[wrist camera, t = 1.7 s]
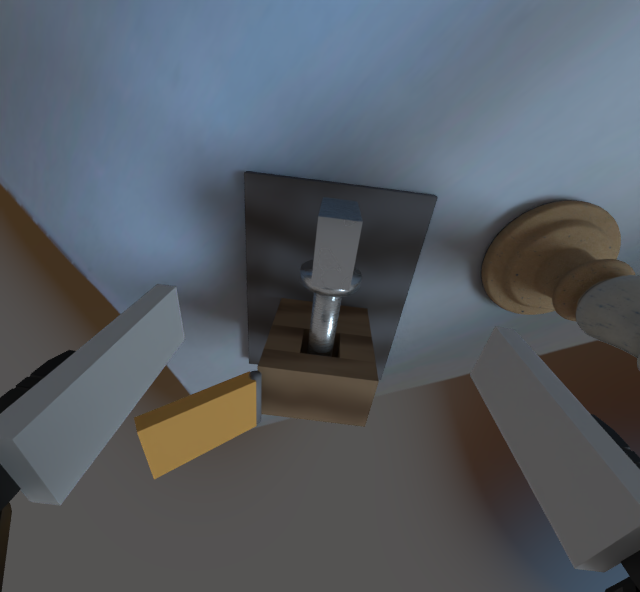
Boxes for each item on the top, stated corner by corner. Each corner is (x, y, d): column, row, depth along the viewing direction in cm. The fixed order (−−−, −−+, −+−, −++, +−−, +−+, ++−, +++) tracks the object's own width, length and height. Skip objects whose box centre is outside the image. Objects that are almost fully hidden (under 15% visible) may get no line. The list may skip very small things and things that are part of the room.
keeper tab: (134, 417, 18) (137, 432, 17) (257, 368, 23) (264, 377, 22) (150, 465, 21) (154, 479, 20) (257, 412, 26) (263, 422, 25)
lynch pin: (309, 195, 23) (300, 214, 18) (370, 203, 23) (380, 224, 18) (295, 359, 32) (286, 404, 27) (338, 365, 32) (338, 410, 27)
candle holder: (463, 240, 29) (651, 404, 12) (602, 172, 25) (1197, 263, 8) (497, 325, 34) (664, 529, 16) (617, 278, 30) (1001, 480, 13)
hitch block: (247, 171, 27) (189, 195, 16) (434, 194, 27) (493, 234, 16) (250, 358, 39) (218, 440, 29) (379, 374, 39) (394, 461, 29)
